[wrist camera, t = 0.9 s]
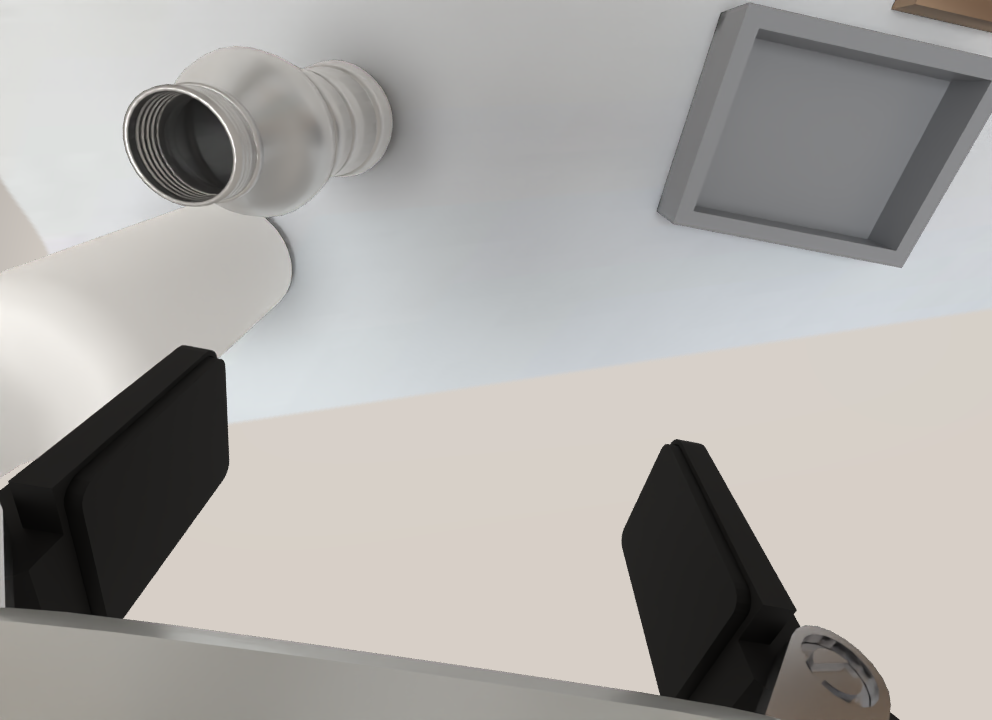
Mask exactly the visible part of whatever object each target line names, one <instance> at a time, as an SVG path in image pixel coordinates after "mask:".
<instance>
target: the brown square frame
mask: <svg viewBox="0 0 992 720" xmlns="http://www.w3.org/2000/svg"><path fill="white" fill-rule="evenodd" d="M892 9H893V10H897V11H901V12H906V13H910V14H914V15H919V16H923V17H927V18H932V19H936V20H940V21H945V22H949V23H953V24H958V25H962V26H966V27H970V28H975V29H979V30H983V31H988V32H992V0H895V2H894V5H893V7H892Z"/></svg>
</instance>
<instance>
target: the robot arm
mask: <svg viewBox="0 0 992 720" xmlns="http://www.w3.org/2000/svg"><path fill="white" fill-rule="evenodd" d="M228 466H229V446H228V421H227V396H226V372H225V363H224V361H223V360H222V359H218V358H217V355H216V353H215V352H214V351H213V350H209V349H203V348H198V347H193V346H188V345H181V346H179V347H178V348H176V349H175V350H174V351H173V352H171V353H170V354H169V355H168V356H166V357H165V358H164V359H162V360H161V361H160V362H159V363H157V364H156V365H155V366H154V367H152V368H151V369H150V370H149V371H147V372H146V373H145V374H143V375H142V376H141V377H140V378H138V379H137V380H136V381H135V382H133V383H132V384H131V385H130V386H128V387H127V388H126V389H124V390H123V391H122V392H121V393H119V394H118V395H117V396H116V397H114V398H113V399H112V400H111V401H109V402H108V403H107V404H105V405H104V406H103V407H102V408H100V409H99V410H98V411H97V412H95V413H94V414H93V415H92V416H90V417H89V418H88V419H86V420H85V421H84V422H83V423H81V424H80V425H79V426H78V427H76V428H75V429H74V430H73V431H71V432H70V433H69V434H67V435H66V436H65V437H64V438H62V439H61V440H60V441H59V442H57V443H56V444H55V445H54V446H52V447H51V448H50V449H48V450H47V451H46V452H45V453H43V454H42V455H41V456H40V457H38V458H37V459H36V460H35V461H33V462H32V463H31V464H29V465H28V466H27V467H26V468H25V469H23V470H22V471H21V472H19V473H18V474H17V475H16V476H14V477H13V478H12V479H11V480H9V481H8V482H9V484H8V485H6V486H5V487H4V488H3V489H1V490H0V720H899V719H898V718H897V717H895V716H894V715H893V714H892V713H890V707H891V704H890V696H889V691H888V689H887V687H886V684H885V682H884V680H883V678H882V677H881V675H880V674H879V672H878V671H877V670H876V668H875V667H874V665H873V664H872V663H871V662H870V661H869V660H868V659H867V658H866V657H865V656H864V655H863V654H862V653H861V651H859V650H858V649H857V648H856V647H854V646H853V645H852V644H851V643H849V642H848V641H847V640H845V639H844V638H842V637H840V636H839V635H837V634H835V633H833V632H831V631H829V630H826V629H824V628H821V627H818V626H807V625H805V626H802V627H800V625H799V623H798V622H797V620H796V618H795V616H794V613H795V612H796V608H795V606H794V605H793V603H792V601H791V599H790V597H789V596H788V594H787V592H786V590H785V589H784V587H783V585H782V583H781V581H780V580H779V578H778V576H777V574H776V572H775V571H774V569H773V567H772V566H771V564H770V562H769V560H768V558H767V556H766V555H765V553H764V551H763V549H762V548H761V546H760V544H759V542H758V541H757V539H756V537H755V535H754V533H753V531H752V530H751V528H750V526H749V524H748V523H747V521H746V519H745V517H744V516H743V514H742V512H741V510H740V508H739V507H738V505H737V503H736V501H735V499H734V498H733V496H732V494H731V492H730V491H729V489H728V487H727V485H726V483H725V482H724V480H723V478H722V476H721V475H720V473H719V471H718V469H717V467H716V466H715V464H714V462H713V460H712V459H711V457H710V455H709V453H708V451H707V450H706V448H705V447H704V445H702V444H699V443H694V442H689V441H683V440H678V439H676V440H674V441H673V442H671V444H670V445H669V444H665V445H664V446H663V447H662V449H661V451H660V453H659V455H658V458H657V460H656V462H655V464H654V466H653V468H652V470H651V472H650V474H649V476H648V479H647V481H646V483H645V485H644V487H643V489H642V491H641V493H640V496H639V498H638V500H637V502H636V504H635V506H634V508H633V511H632V513H631V515H630V517H629V519H628V521H627V523H626V525H625V528H624V530H623V534H622V548H623V552H624V557H625V560H626V564H627V568H628V572H629V576H630V580H631V584H632V587H633V591H634V595H635V599H636V603H637V607H638V611H639V615H640V619H641V623H642V626H643V630H644V634H645V638H646V642H647V646H648V649H649V654H650V658H651V661H652V665H653V669H654V673H655V677H656V681H657V685H658V689H659V692H660V695H654V694H648V693H642V692H635V691H629V690H622V689H615V688H609V687H601V686H595V685H588V684H581V683H575V682H569V681H562V680H555V679H549V678H542V677H535V676H528V675H521V674H515V673H507V672H502V671H495V670H488V669H481V668H474V667H467V666H460V665H453V664H447V663H440V662H432V661H425V660H419V659H412V658H405V657H398V656H391V655H384V654H377V653H370V652H362V651H356V650H349V649H342V648H334V647H328V646H321V645H314V644H306V643H299V642H292V641H284V640H277V639H270V638H262V637H256V636H249V635H241V634H234V633H227V632H220V631H212V630H205V629H198V628H190V627H183V626H176V625H168V624H160V623H152V622H144V621H136V620H127V619H123V618H124V616H125V615H126V614H127V612H128V611H129V610H130V608H131V607H132V605H133V604H134V603H135V601H136V600H137V598H138V597H139V596H140V595H141V593H142V592H143V590H144V589H145V588H146V586H147V585H148V583H149V582H150V581H151V579H152V578H153V576H154V575H155V574H156V572H157V571H158V570H159V568H160V567H161V565H162V564H163V562H164V561H165V560H166V558H167V557H168V556H169V554H170V553H171V551H172V550H173V549H174V547H175V546H176V545H177V543H178V542H179V540H180V539H181V538H182V536H183V535H184V533H185V532H186V531H187V529H188V528H189V526H190V525H191V524H192V522H193V521H194V519H195V518H196V517H197V515H198V514H199V513H200V511H201V510H202V508H203V507H204V506H205V504H206V503H207V502H208V500H209V499H210V497H211V496H212V495H213V493H214V492H215V490H216V489H217V488H218V486H219V485H220V484H221V482H222V481H223V479H224V478H225V476H226V473H227V470H228Z"/></svg>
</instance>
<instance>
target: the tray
mask: <svg viewBox="0 0 992 720" xmlns="http://www.w3.org/2000/svg"><path fill="white" fill-rule="evenodd" d="M991 113H992V58H991V57H986V56H982V55H978V54H973V53H969V52H964V51H960V50H956V49H951V48H947V47H942V46H938V45H934V44H929V43H925V42H920V41H916V40H912V39H907V38H903V37H899V36H894V35H890V34H885V33H881V32H877V31H872V30H868V29H863V28H859V27H855V26H850V25H846V24H841V23H837V22H833V21H828V20H824V19H820V18H815V17H811V16H806V15H802V14H798V13H793V12H789V11H784V10H780V9H776V8H771V7H767V6H763V5H758V4H754V3H747V4H744V5H741V6H738V7H736V8H733V9H730V10H728V11H725V12H722V13H721V15H720V18H719V21H718V24H717V27H716V30H715V33H714V36H713V39H712V42H711V45H710V49H709V52H708V55H707V58H706V61H705V64H704V67H703V70H702V73H701V76H700V79H699V82H698V85H697V89H696V92H695V95H694V98H693V101H692V104H691V107H690V110H689V113H688V116H687V119H686V122H685V125H684V129H683V132H682V135H681V138H680V141H679V144H678V147H677V150H676V153H675V156H674V159H673V162H672V165H671V169H670V172H669V175H668V178H667V181H666V184H665V187H664V190H663V193H662V196H661V199H660V202H659V205H658V208H657V212H658V213H660V214H661V215H662V216H664V217H665V218H666V219H667V220H669V221H670V222H671V223H673V224H676V225H682V226H687V227H692V228H697V229H702V230H707V231H713V232H718V233H723V234H728V235H733V236H739V237H744V238H749V239H754V240H759V241H765V242H770V243H775V244H780V245H785V246H790V247H796V248H801V249H806V250H811V251H816V252H822V253H827V254H832V255H837V256H842V257H847V258H853V259H858V260H863V261H868V262H873V263H879V264H884V265H889V266H894V267H899V268H902V267H903V265H904V263H905V262H906V260H907V258H908V256H909V255H910V253H911V251H912V250H913V248H914V246H915V244H916V243H917V241H918V239H919V237H920V236H921V234H922V232H923V231H924V229H925V227H926V225H927V224H928V222H929V220H930V218H931V217H932V215H933V213H934V212H935V210H936V208H937V206H938V205H939V203H940V201H941V199H942V198H943V196H944V194H945V193H946V191H947V189H948V187H949V186H950V184H951V182H952V180H953V179H954V177H955V175H956V173H957V172H958V170H959V168H960V167H961V165H962V163H963V161H964V160H965V158H966V156H967V154H968V153H969V151H970V149H971V148H972V146H973V144H974V142H975V141H976V139H977V137H978V135H979V134H980V132H981V130H982V129H983V127H984V125H985V123H986V122H987V120H988V118H989V116H990V115H991Z"/></svg>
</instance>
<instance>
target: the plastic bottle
mask: <svg viewBox="0 0 992 720" xmlns="http://www.w3.org/2000/svg"><path fill="white" fill-rule="evenodd" d="M392 129H393V118H392V111H391V107H390V104H389V101H388V98H387V96H386V95H385V93H384V91H383V89H382V88H381V87H380V85H379V84H378V83H377V82H376V81H375V79H374V78H373V77H372V76H371V75H369V74H368V73H367V72H366V71H365V70H363V69H361V68H360V67H358V66H356V65H354V64H352V63H348V62H345V61H339V60H328V61H321V62H318V63H315V64H313V65H310V66H308V67H305V68H304V69H302V68H299V67H297V66H295V65H293V64H292V63H290V62H288V61H286V60H284V59H282V58H281V57H279V56H277V55H274V54H271V53H268V52H265V51H261V50H258V49H255V48H252V47H240V46H232V47H225V48H219V49H217V50H214V51H212V52H210V53H207V54H205V55H203V56H202V57H200V58H199V59H197V60H196V61H195V62H193V63H192V64H191V65H189V66H188V67H187V68H186V69H184V71H183V72H182V73H181V75H180V76H179V77H178V78H177V80H176V81H175V83H174V85H171V84H166V85H159V86H155V87H152V88H150V89H148V90H145V91H143V92H142V93H141V94H139V95H138V96H137V97H135V99H134V100H133V101H132V103H131V104H130V105H129V107H128V109H127V112H126V114H125V117H124V123H123V141H124V145H125V150H126V153H127V155H128V158H129V161H130V163H131V164H132V166H133V168H134V170H135V171H136V173H137V174H138V176H139V177H140V178H141V179H142V181H143V182H144V183H145V184H146V185H147V186H148V187H149V188H150V189H152V190H153V191H154V192H155V193H157V194H158V195H160V196H161V197H163V198H164V199H167V200H169V201H171V202H173V203H176V204H180V205H183V206H192V207H200V206H208V205H211V204H214V203H215V204H216V205H218V206H220V207H222V208H224V209H227V210H229V211H231V212H235V213H239V214H242V215H248V216H257V217H275V216H282V215H285V214H288V213H290V212H293V211H295V210H297V209H299V208H300V207H302V206H303V205H305V204H306V203H307V202H309V201H310V200H311V199H312V198H313V197H314V196H315V195H316V194H317V193H318V192H319V191H320V190H321V189H322V188H323V186H324V185H325V184H326V183H327V181H328V180H329V179H330V178H331V177H349V176H356V175H359V174H362V173H364V172H366V171H368V170H369V169H371V168H372V167H373V166H375V165H376V164H377V163H378V162H379V161H380V159H381V158H382V156H383V155H384V153H385V152H386V149H387V147H388V144H389V142H390V139H391V134H392Z"/></svg>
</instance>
